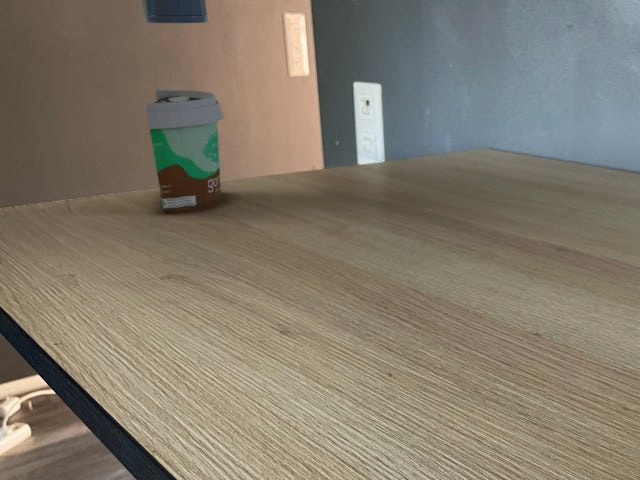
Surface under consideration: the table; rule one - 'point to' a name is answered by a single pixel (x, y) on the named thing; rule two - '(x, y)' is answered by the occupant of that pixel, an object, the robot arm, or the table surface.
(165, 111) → the food container
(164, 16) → the cup
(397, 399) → the table surface
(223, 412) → the table surface
